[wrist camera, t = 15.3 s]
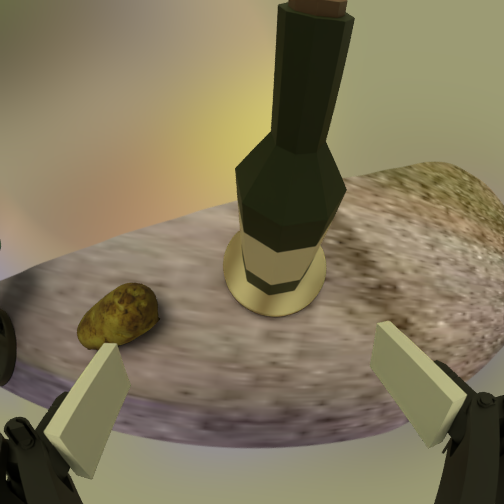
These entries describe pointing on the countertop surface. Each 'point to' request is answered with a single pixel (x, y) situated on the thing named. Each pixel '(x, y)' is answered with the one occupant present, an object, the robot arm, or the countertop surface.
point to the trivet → (260, 300)
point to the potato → (119, 316)
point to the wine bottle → (295, 149)
